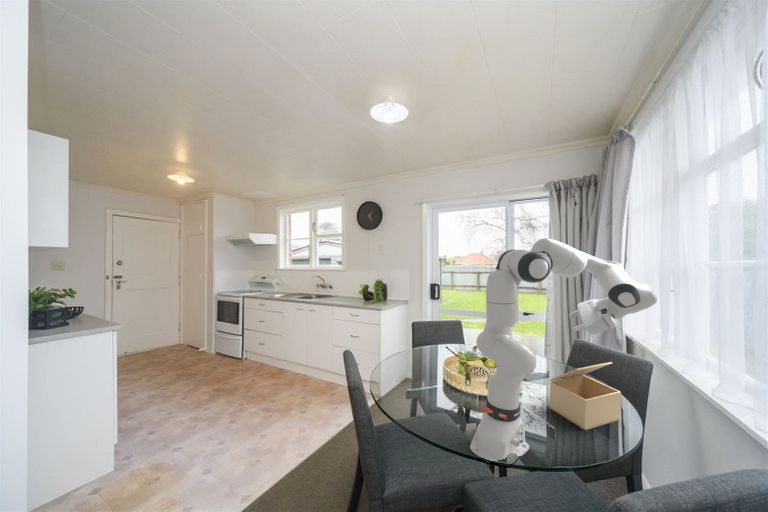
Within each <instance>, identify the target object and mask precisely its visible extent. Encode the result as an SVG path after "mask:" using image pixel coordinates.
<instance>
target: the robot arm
mask: <svg viewBox="0 0 768 512" xmlns="http://www.w3.org/2000/svg"><path fill="white" fill-rule="evenodd" d="M583 271H586V272H589V273H591V274H592V276H593V277H594V278H595V279H596V281H597V282H598V284H599V285H600V287H601V289H602V290H603V292H604V294H605V295H606V297H604V298H601V299H597V298H596V299H594V298H593V299H588V300H585V301H582V302H579V303H578V304H577V305H576V306H577V309H576V310H574V311H572V313H569V314H568V317H569V319H570V320H571V321H573V320H574V319H576V318H577V317H578V316H580V319H581V321H582V323H581V324H580V325H576V324H574V325H572V326H571V329H572V331H573V332H577V331H583V332H584V331H586V332H587V334H588V335H596V334H599V333H603V332H606V331H607V330H609V329H612V330H613V329H616V328H617V327H618V322H619V319H622V318H624V317H625V316H628V315H630V314H636V313H639V312H641V311H644V310H646V309H649V308H650V307H653V306H654V305H655V304H657V301H658V299H657V296H656V294H655V292H654V290H653V289H652V287H651V286H650V285H648V284H641V283H639V282H636V281H635V280H632V279H631V277H630V276H629V275H628V273H627V271H626V270H625V269H624V266H623V265H622V264H621V263H620V262H618V261H614V260H609V259H603V258H602V259H601V258H599V257H597V256H594V255H592V254H589V253H586V252H584V251H581V250H578V249H576V248H574V247H572V246H570V245H568V244H566V243H564V242H560V241H558V240H556V239H551V238H543V237H542V238H540V239H538V240H537V241H536V242H534V244H533V245H532V247H531V248H530V250H526V249H508V250H506V251H504V252H503V253H501V255H500V256H499V258H498V261H497V265H496V267H495V270H494V271H492V272H490V273H489V274H488V276H487V279H486V287H485V305H486V306H485V308H486V309H485V310H486V318H485V319H486V320H485V326H484V328H483V331H481V332H480V333H479V334H478V335H477V337H476V341H475V342H476V347H477V349H478V351H480V353H481V354H482V355H483V356H484V357H485V358H487V359H488V360H489V361H491V362H493V363H494V364H495V365H496V371H495V373H494V374H492V375H490V376H489V377H488V379H487V396H486V400H485V404H484V405H485V406H483V408H482V412H483V413H482V416H481V420H480V422H479V424H478V425H477V427H476V430H475V432H474V435H473V438H472V440H471V443H470V445H469V449H470V450H471V452H472V453H473V454H475V455H476V456H478V457H479V458H480V457H481V459H482V458H484V459H486V460H490V461H497V460H502V459H505V458H506V457H507V455H509V454H510V453H514V454H516V455H517V456H518V457H519V456H521V457H523V455H525V454H526V453H527V452H528V451H529V450H530V445H529V443H527V442H526V435H525V434H526V433H525V431H526V430H525V423H524V421H523V420H522V417H521V411H522V410H521V409H522V408H521V403H520V391H521V390H520V389H521V384H522V382H523V379H525V377H528V376H530V375H531V374H532V373H533V372H534V371H535V370H536V367H537V357H536V353H534V351H533V350H532V349H530V348H529V347H528V346H526V345H525V344H523V343H522V342H520V341H518V340H516V339H513V338H512V337H511V330H512V328H514V327H515V326H516V325H517V324H518V323H519V321H520V313H519V310H520V309H519V292H518V291H519V287H520V284H521V282H526V283H531V284H532V283H535V284H536V283H540V282H543V281H544V280H546V279H547V278H548V276H549V275H550V273H551V272H552V273H554V274H556V275H558V276H559V277H560V276H561V277H563V278H575V277H577V276H579V275H580V274H581V273H582V272H583ZM484 459H483V460H484ZM486 460H485V461H486Z"/></svg>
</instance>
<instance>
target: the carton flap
mask: <svg viewBox="0 0 768 512" xmlns="http://www.w3.org/2000/svg"><path fill="white" fill-rule="evenodd" d="M611 364H613V362H612V361H609V362H605V363H598V364H593V365H589V366H584V367H578V368H574V369H573V370H570V371H567V372H566V373H562V374H561V375H558V376H556V377H553V378H551V379H549V381H550V382H552V381H557V380H562V379H567V378H571V377H576V376H581V375H585V374H588V373H590V372H591V373H592V372H593V371H594V372H595V370H599V369H601V368H604V367H606V366H608V365H609V366H610V365H611Z"/></svg>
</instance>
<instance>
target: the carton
mask: <svg viewBox="0 0 768 512" xmlns="http://www.w3.org/2000/svg"><path fill="white" fill-rule="evenodd" d="M549 389H550V391H549V392H550V394H549V409H550V410H552V411H554V412H555V413H556V414H558V415H560V416H562V417H563V418H565V419H566V420H567V421H569V422H571V423H573V424H574V425H575V426H577V427H579V428H580V429H582V430H583V431H587V430H591V429H594V428H597V427H601V426H604V425H608V424H611V423H614V422H615V423H616V422H618V421H621V407H622V406H621V403H622V402H621V401H622V392H621V391H620V390H618V389H615V388H614V387H611V386H609V385H607V384H604V383H602V382H601V381H598V380H595V379H594V378H591V377H589V376H587V375H585V374H583V375H578V376H573V377H568V378H563V379H559V380H554V381H550V387H549Z"/></svg>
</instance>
